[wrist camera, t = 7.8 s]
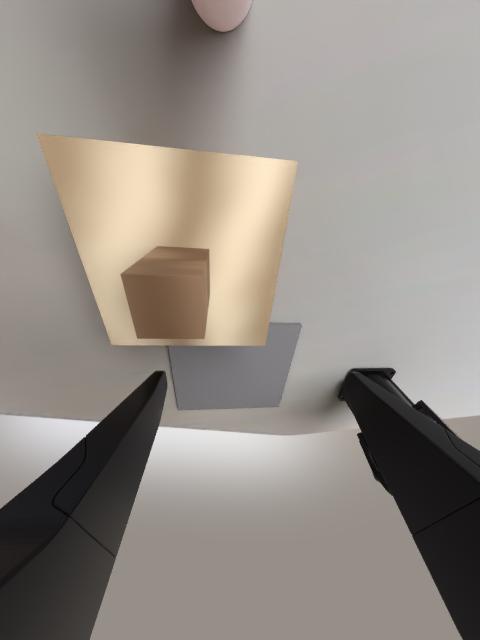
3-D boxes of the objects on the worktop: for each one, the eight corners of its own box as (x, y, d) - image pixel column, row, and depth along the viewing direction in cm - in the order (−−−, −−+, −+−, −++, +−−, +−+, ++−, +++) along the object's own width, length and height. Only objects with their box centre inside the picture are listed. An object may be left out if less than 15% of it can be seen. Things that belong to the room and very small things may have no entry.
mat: (300, 323, 22) (301, 325, 22) (277, 404, 30) (278, 406, 30) (165, 321, 21) (164, 323, 20) (179, 407, 29) (178, 410, 28)
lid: (293, 163, 10) (355, 133, 6) (263, 339, 17) (280, 398, 12) (49, 138, 9) (-145, 69, 4) (116, 338, 16) (68, 403, 11)
